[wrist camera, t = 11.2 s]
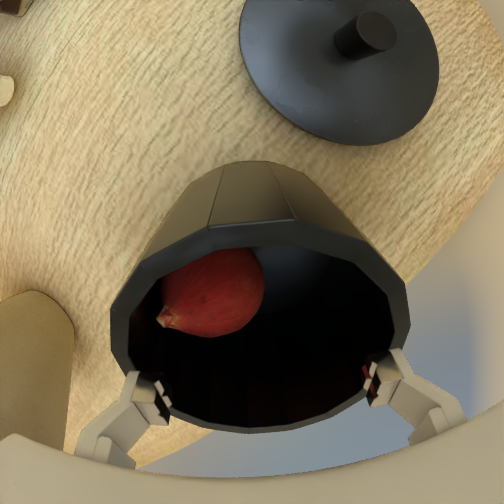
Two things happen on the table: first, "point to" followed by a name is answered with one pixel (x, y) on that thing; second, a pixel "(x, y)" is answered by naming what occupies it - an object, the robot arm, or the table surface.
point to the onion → (213, 293)
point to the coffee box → (14, 7)
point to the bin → (264, 304)
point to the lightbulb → (6, 89)
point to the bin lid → (342, 65)
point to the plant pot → (35, 368)
